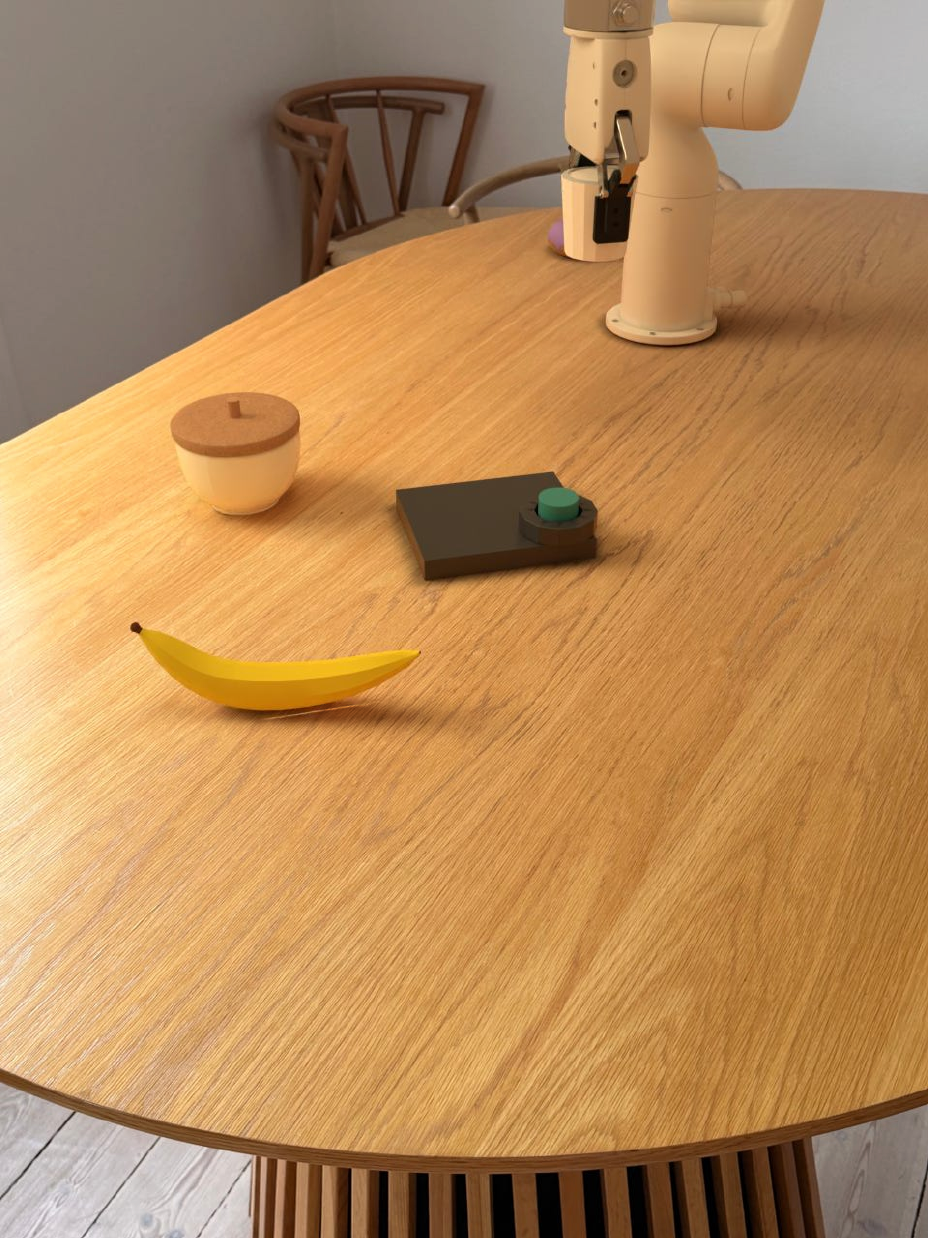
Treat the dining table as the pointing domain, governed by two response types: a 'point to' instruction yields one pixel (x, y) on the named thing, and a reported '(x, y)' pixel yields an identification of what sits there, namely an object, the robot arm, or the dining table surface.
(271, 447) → the cream bowl with lid
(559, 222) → the donut
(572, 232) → the cream tapered cup
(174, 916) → the dining table surface
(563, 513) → the button
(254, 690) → the banana
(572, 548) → the scale
